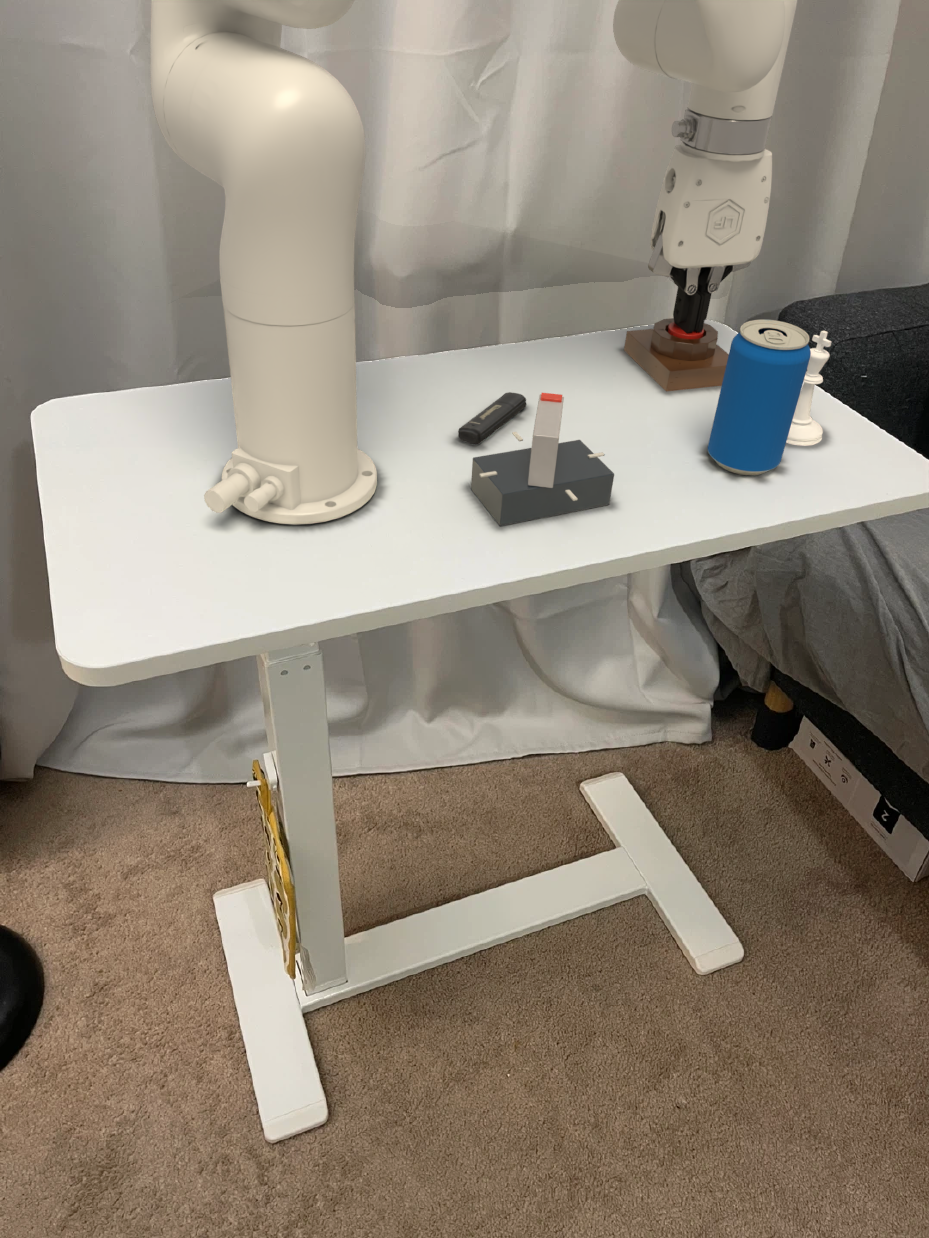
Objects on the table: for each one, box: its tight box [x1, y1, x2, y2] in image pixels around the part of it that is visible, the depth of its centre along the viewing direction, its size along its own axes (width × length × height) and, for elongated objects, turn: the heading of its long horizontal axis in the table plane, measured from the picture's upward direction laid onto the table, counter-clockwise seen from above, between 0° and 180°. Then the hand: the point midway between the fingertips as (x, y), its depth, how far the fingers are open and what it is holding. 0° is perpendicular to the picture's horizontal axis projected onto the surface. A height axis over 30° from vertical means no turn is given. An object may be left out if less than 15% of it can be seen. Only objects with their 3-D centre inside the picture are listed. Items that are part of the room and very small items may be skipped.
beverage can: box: [707, 319, 811, 476], centre depth 86 cm, size 6×6×12 cm
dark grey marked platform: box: [470, 431, 615, 527], centre depth 82 cm, size 11×11×3 cm
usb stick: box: [457, 391, 527, 445], centre depth 92 cm, size 10×3×2 cm, turn 149°
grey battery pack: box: [528, 392, 565, 488], centre depth 80 cm, size 7×2×5 cm, turn 172°
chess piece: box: [786, 330, 833, 447], centre depth 91 cm, size 5×5×10 cm
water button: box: [668, 322, 704, 339], centre depth 102 cm, size 4×4×2 cm
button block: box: [623, 317, 729, 393], centre depth 103 cm, size 10×8×4 cm
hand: (687, 327), depth 102 cm, fingers closed
